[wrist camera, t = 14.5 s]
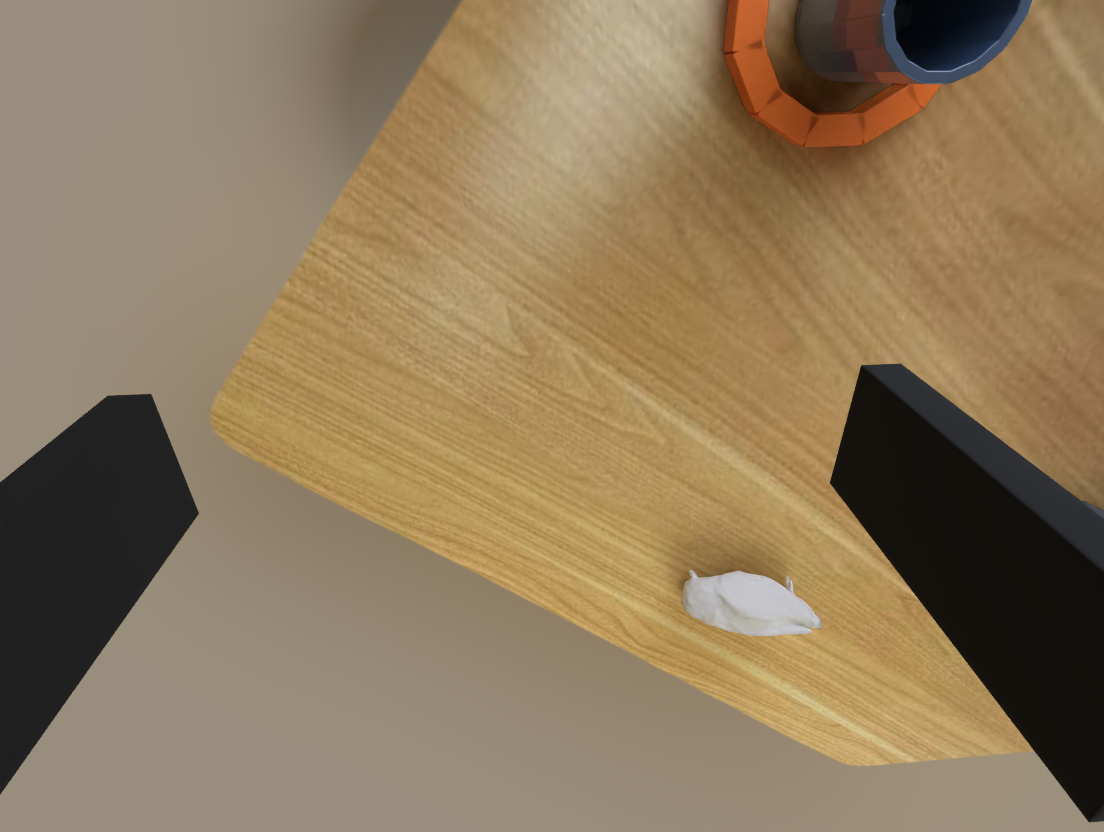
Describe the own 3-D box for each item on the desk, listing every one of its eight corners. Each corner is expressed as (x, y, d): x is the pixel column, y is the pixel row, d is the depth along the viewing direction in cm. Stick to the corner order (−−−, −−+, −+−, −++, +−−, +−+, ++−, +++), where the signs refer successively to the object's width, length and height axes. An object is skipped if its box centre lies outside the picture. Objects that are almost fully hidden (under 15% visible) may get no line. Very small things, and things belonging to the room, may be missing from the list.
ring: (742, -142, 28) (754, -153, 27) (1002, -147, 28) (1026, -158, 27) (713, 146, 34) (721, 149, 33) (926, 139, 35) (943, 142, 33)
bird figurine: (784, 542, 51) (678, 568, 49) (834, 611, 46) (718, 643, 44) (769, 576, 55) (669, 602, 52) (814, 644, 50) (705, 675, 47)
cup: (807, -57, 30) (908, -103, 22) (925, -56, 30) (1066, -100, 22) (784, 81, 33) (865, 84, 25) (891, 81, 33) (1004, 84, 25)
